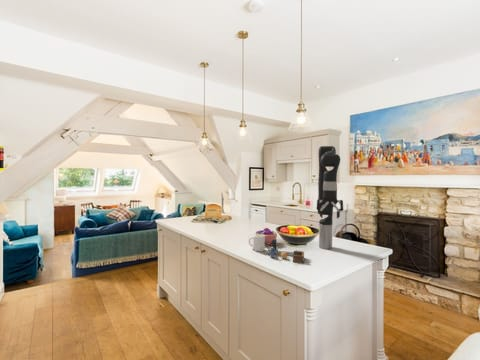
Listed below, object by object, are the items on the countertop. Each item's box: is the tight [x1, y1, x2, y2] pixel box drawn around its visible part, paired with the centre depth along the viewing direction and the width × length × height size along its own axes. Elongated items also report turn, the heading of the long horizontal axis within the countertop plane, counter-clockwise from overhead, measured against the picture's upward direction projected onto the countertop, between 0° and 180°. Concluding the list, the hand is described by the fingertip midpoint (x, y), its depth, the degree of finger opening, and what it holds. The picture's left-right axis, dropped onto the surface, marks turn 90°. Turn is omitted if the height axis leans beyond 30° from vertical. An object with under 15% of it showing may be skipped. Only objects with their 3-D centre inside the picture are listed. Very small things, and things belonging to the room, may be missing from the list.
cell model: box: [255, 227, 278, 245], centre depth 199 cm, size 17×20×11 cm
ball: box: [280, 252, 288, 260], centre depth 162 cm, size 4×4×4 cm
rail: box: [267, 247, 298, 257], centre depth 171 cm, size 3×19×3 cm, turn 75°
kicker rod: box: [269, 238, 279, 259], centre depth 168 cm, size 12×5×9 cm, turn 165°
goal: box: [292, 250, 305, 264], centre depth 160 cm, size 10×6×4 cm, turn 165°
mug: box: [248, 233, 266, 252], centre depth 181 cm, size 12×8×10 cm
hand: (329, 217), depth 146 cm, fingers open, 8 cm apart
